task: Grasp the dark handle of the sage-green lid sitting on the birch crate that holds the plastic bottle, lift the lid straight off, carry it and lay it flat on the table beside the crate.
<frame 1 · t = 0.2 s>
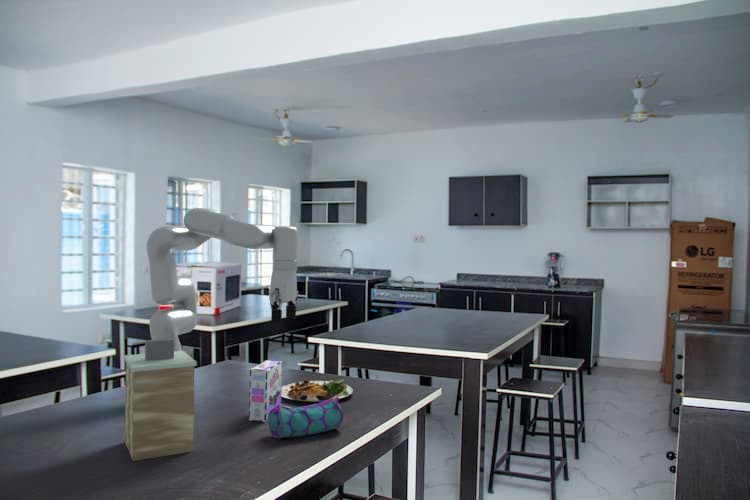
hand: (283, 320, 184), 31 cm above the table, tool pointing down, fingers open, 9 cm apart
pencil case: (306, 434, 173), on the table
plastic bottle: (158, 447, 160), resting in crate
plate of food: (314, 396, 213), on the table
crate: (158, 446, 160), on the table
lid: (159, 362, 159), point 23 cm above the table, touching crate
candy box: (265, 416, 188), on the table
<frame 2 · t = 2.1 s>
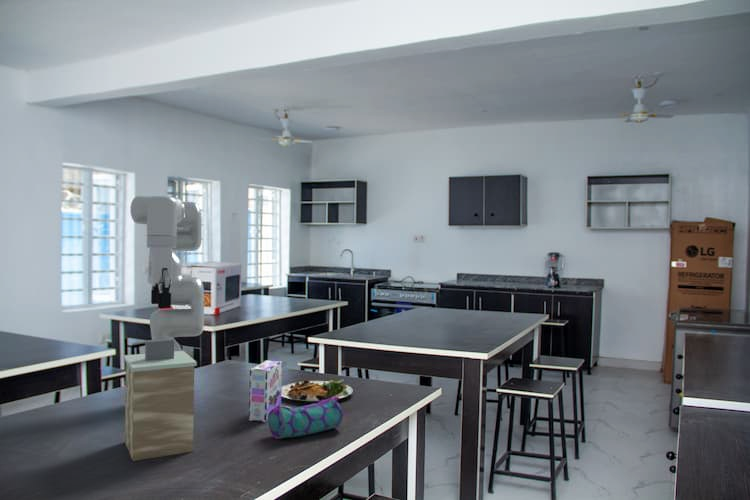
hand: (160, 305, 158), 38 cm above the table, tool pointing down, fingers open, 9 cm apart
nothing on the table moved.
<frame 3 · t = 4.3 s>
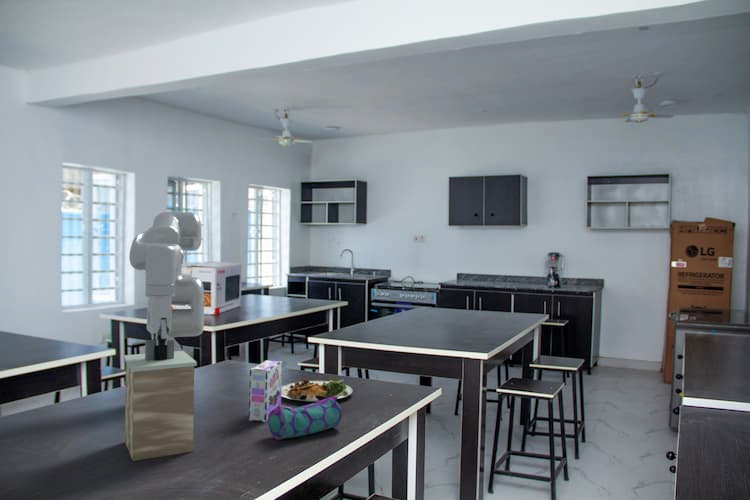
hand: (159, 358, 159), 24 cm above the table, tool pointing down, fingers closed on lid, 2 cm apart
lid: (159, 362, 159), point 23 cm above the table, touching crate, gripper
everything else where it was.
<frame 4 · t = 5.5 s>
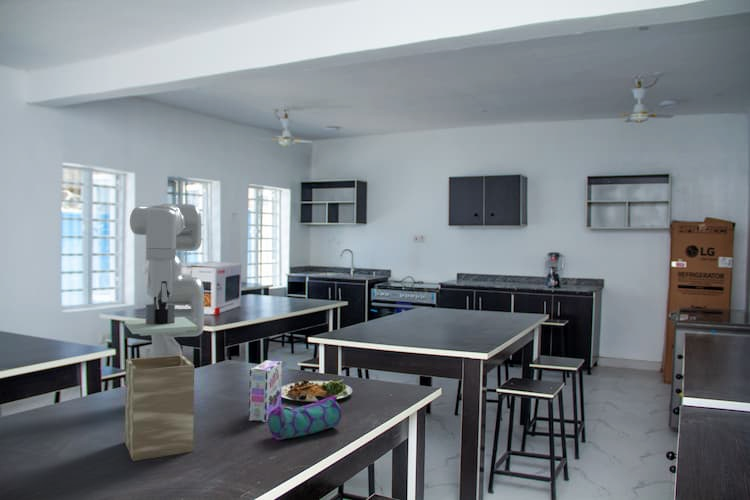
hand: (160, 322, 159), 34 cm above the table, tool pointing down, fingers closed on lid, 2 cm apart
lid: (160, 326, 159), point 33 cm above the table, touching gripper
everything else where it was.
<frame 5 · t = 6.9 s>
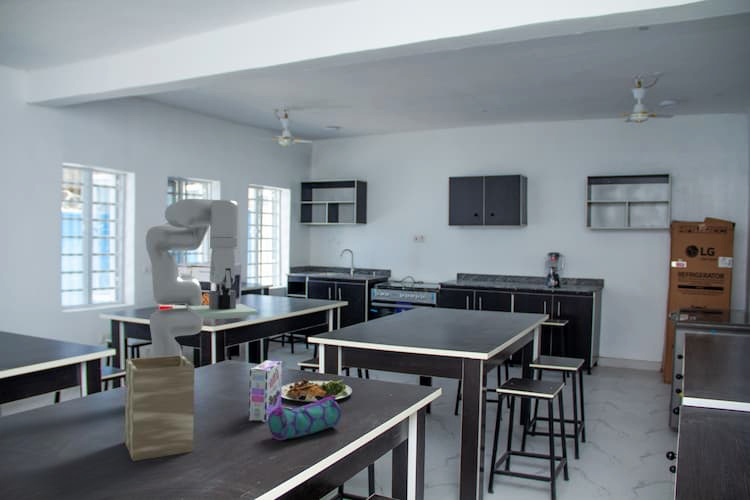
hand: (222, 307, 167), 37 cm above the table, tool pointing down, fingers closed on lid, 2 cm apart
lid: (222, 312, 167), point 36 cm above the table, touching gripper
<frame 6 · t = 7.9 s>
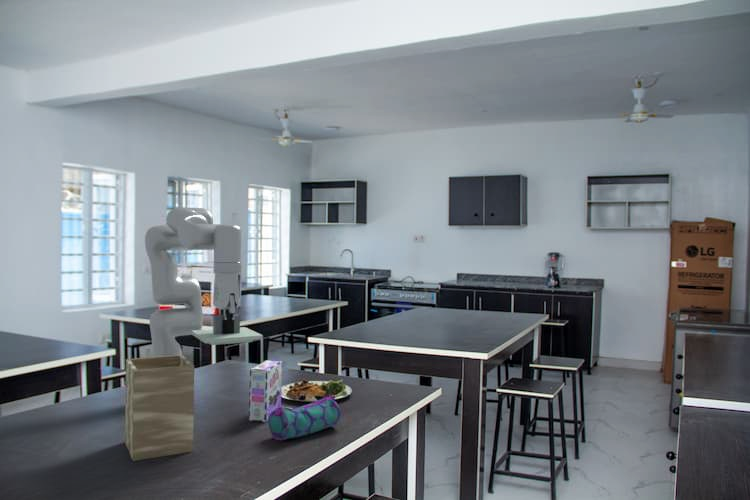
hand: (226, 332, 167), 30 cm above the table, tool pointing down, fingers closed on lid, 2 cm apart
lid: (226, 336, 167), point 29 cm above the table, touching gripper
when the fingers open (4 cm above the table, at t = 11.2 s): lid drops 2 cm, point 1 cm above the table.
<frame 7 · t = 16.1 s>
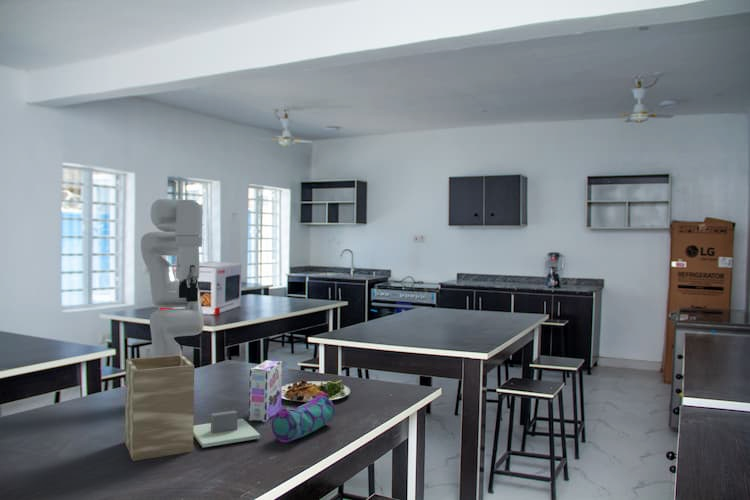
hand: (188, 299, 174), 38 cm above the table, tool pointing down, fingers open, 9 cm apart
lid: (224, 433, 169), point 1 cm above the table
at the end: lid inside the target area (0.2 cm from its centre), point 0.6 cm above the table; lid tilted 0°; lid touching table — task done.
